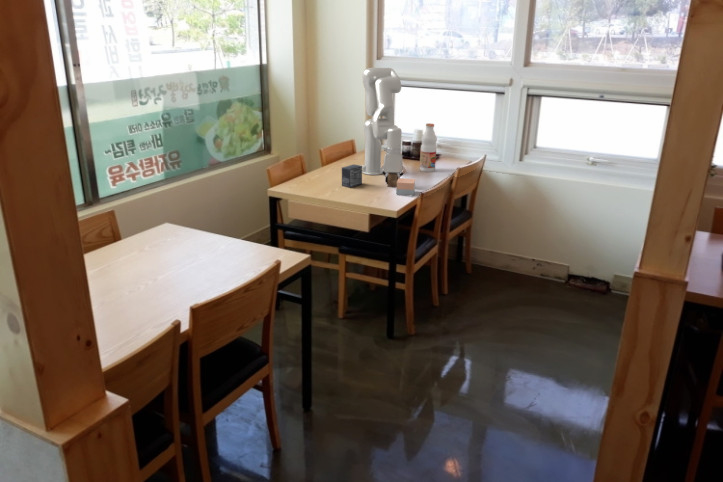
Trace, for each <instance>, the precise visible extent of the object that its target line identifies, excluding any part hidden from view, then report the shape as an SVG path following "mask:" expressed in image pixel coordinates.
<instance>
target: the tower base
mask: <svg viewBox="0 0 723 482" xmlns="http://www.w3.org/2000/svg"><path fill="white" fill-rule="evenodd" d="M395 188H396V190H395V191H396V192H395V194H397V195H396V196H407V195H413V196H415V195H414V194H415V189H414V190H405V189H397V187H395Z"/></svg>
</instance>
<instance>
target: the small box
mask: <svg viewBox="0 0 723 482" xmlns="http://www.w3.org/2000/svg"><path fill="white" fill-rule="evenodd" d="M362 170H363V169H362V166H360V164H350V165H347V166H343V167H341V187H345V188H349V189H351V188H354V187H357V186H358V187H359V186H362V185H363V173H362Z"/></svg>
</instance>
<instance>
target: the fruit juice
mask: <svg viewBox="0 0 723 482" xmlns="http://www.w3.org/2000/svg"><path fill="white" fill-rule="evenodd" d="M434 127H435V124H434V123H425V131H424V133H423V135H422V136H421V145H420V153H419V154H420V155H419V156H420V157H419V171H421V172H424V173H433V172H435V170H436V164H437V163H436V161H437V160H436V159H437V144H436V143H437V135H436V134H435V131H434Z"/></svg>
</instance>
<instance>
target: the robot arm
mask: <svg viewBox="0 0 723 482" xmlns="http://www.w3.org/2000/svg"><path fill="white" fill-rule="evenodd" d="M362 84H363V88H364V92H365V111H366V115H367V116H369V117H372V118H370V119H367V120H365V121H364V123H363V131H364V164H362V165H360V164H359V165H360V166H362V175H369V176H381V175H383V176H384V177H385V179H384V180H385V183H386V185H387V184H388V173H389V172H391V173H397V175H398V176H397V180H398V178H401V177H402V176H403V175H405V174H406V173H407V169H406V168H405V166H404V163H403V153H401V152H402V132H403V131H402V129H401V128H400V127H398V125H395V121H394V119H395V113H394V112H395V111H394V110H395V109H394V101H393V94H399V93H400V92H401V91H402V90H401V89H402V83H401V79H400V77H399V75H398V74H397V73H396V71H395V70H394V69H393V68H392V67H368V68H366V69H365V70H364V71H363V72H362ZM380 117H383V118H380ZM381 140H386V148H383V151H384V152H385V154H384V159H383V165H382V161H381V160H382V141H381ZM381 165H382V166H381Z"/></svg>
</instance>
